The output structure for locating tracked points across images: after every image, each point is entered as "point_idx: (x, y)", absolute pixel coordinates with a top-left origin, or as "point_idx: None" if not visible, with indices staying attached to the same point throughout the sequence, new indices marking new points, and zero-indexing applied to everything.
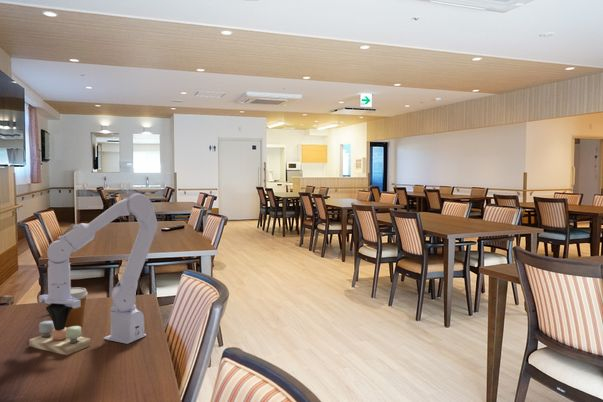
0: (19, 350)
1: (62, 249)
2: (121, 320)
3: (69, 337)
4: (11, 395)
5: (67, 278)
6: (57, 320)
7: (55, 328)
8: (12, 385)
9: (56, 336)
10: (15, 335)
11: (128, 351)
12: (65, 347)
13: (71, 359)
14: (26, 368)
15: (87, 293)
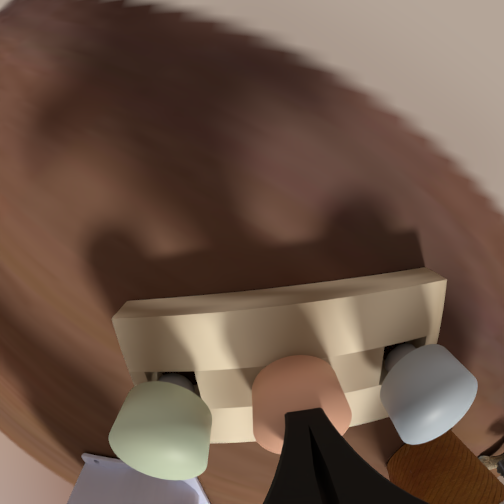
0: (421, 205)
1: None
2: None
3: (140, 387)
4: (6, 4)
5: None
6: (280, 475)
7: (315, 415)
8: (46, 7)
9: (278, 375)
10: None
11: (27, 410)
12: (122, 321)
13: (63, 278)
14: (131, 81)
15: None
